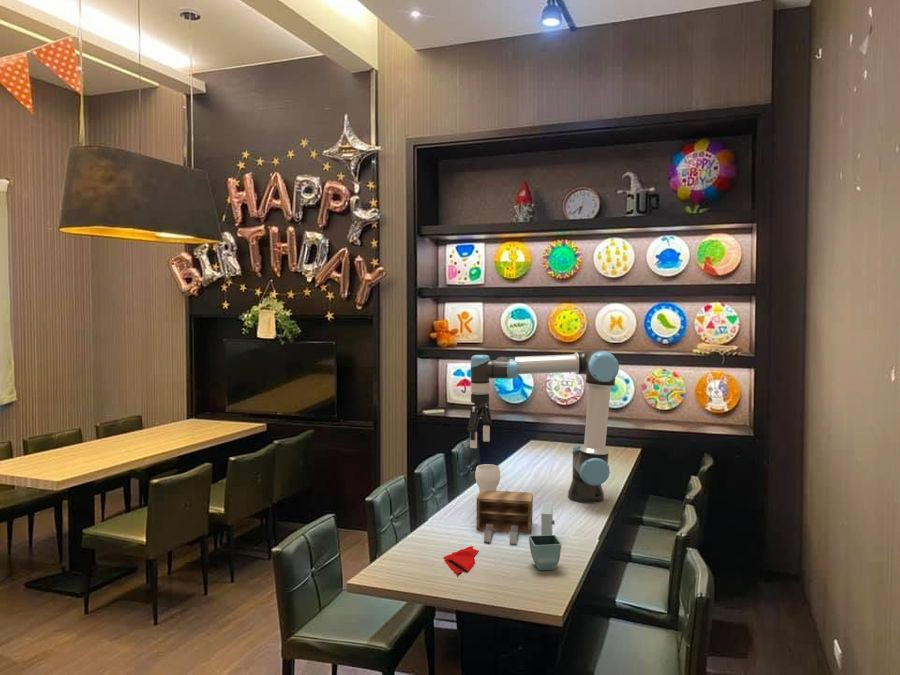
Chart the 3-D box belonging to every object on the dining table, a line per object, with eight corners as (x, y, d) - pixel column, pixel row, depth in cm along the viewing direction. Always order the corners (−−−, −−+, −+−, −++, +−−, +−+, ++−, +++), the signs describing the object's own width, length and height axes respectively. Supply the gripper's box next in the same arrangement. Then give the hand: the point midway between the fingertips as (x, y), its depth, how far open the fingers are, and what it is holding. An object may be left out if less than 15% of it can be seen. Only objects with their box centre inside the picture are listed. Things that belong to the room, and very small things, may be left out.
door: (542, 534, 239) (542, 502, 239) (554, 535, 238) (555, 502, 238) (541, 547, 226) (541, 513, 226) (554, 548, 226) (554, 514, 225)
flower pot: (528, 562, 214) (528, 535, 213) (554, 561, 215) (555, 534, 214) (533, 573, 205) (534, 545, 205) (561, 572, 206) (561, 544, 205)
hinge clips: (519, 532, 241) (519, 520, 240) (516, 544, 229) (516, 532, 229) (488, 531, 243) (488, 519, 242) (484, 542, 231) (484, 530, 231)
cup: (498, 506, 271) (498, 470, 270) (473, 505, 273) (473, 469, 272) (501, 499, 282) (501, 464, 281) (477, 497, 284) (477, 463, 283)
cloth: (459, 545, 230) (459, 539, 230) (495, 551, 225) (495, 545, 225) (426, 573, 207) (426, 566, 206) (466, 581, 201) (466, 574, 201)
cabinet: (532, 523, 251) (532, 492, 250) (530, 533, 240) (531, 501, 239) (480, 520, 254) (480, 489, 254) (476, 530, 243) (476, 498, 243)
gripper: (483, 388, 281) (483, 437, 282) (459, 396, 258) (459, 449, 260) (499, 389, 278) (499, 439, 279) (476, 397, 255) (476, 451, 256)
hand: (480, 444), depth 269 cm, fingers open, 13 cm apart
